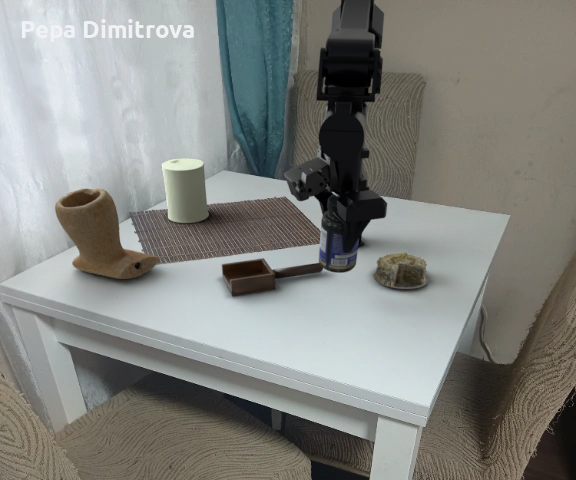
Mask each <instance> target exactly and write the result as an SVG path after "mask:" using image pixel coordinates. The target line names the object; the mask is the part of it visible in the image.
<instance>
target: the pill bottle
mask: <svg viewBox="0 0 576 480" xmlns="http://www.w3.org/2000/svg"><path fill="white" fill-rule="evenodd" d="M339 198H340V197H337V196H335V195H332V196H330V197H329V198H328V202H327V208H328V211H326V212H325V213H324V214H323V215H322V216H321V223H320V236H319V237H320V238H319V249H318V250H319V251H318V263H319V264H320V265H321V267H322V268H323V270H326V271H328V272H331V273H339V274H341V273H347V272H350V271H352V270H353V269H354V268H355V267H356V265H357V259H358V251H359V246H358V243H359V239H358V241H357V242H356V244H355V246H354V247H353V249H352V251H351V252H350V253H344V252H343V244H342V230H341V221H340V220H339V219H338V218H337V217H336V216H335V215H334V214H333V212H337V200H338V199H339Z"/></svg>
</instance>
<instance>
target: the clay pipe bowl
mask: <svg viewBox="0 0 576 480" xmlns="http://www.w3.org/2000/svg"><path fill="white" fill-rule="evenodd" d="M54 212H55V216H56V218H57V220H58V222H59V224H60V226H61V228H62V229H63V230H64V232H65V233H66V235H67V236H68V237H69V239H70V240H71V242H73V244H74V245H75V246H76V249H77V250H78V253H79V255H77V256H76V257H75V258H74V259H73V261H72V262H71V265H72V266H73V268H75V269H77V270H79V271H82V272H85V273H89V274H92V275H93V274H94V275H97V276H103V277H107V278H112V279H118V280H128V279H135V278H139V277H141V276H143V275H145V274H147V273H148V272H149V271H150V270H152V269H153V268H154V267H156V265H157V264H158V263H159V261H160V258H159V256H156V255H153V254H148V253H144V252H140V251H137V250H132V249H127V248H124V247H123V246H122V243H121V235H120V219H119V214H118V211H117V206H116V204H115V200H114V199H113V197H112V195H111V194H110V193H109V192H108V191H107V190H106V189H104V188H102V187H96V188H94V189H93V188H80V189H76V190H73V191H71V192H68V193H66V194H65V195H63V196H61V197H60V198H58V199H57V200H56V202H55V206H54Z"/></svg>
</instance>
